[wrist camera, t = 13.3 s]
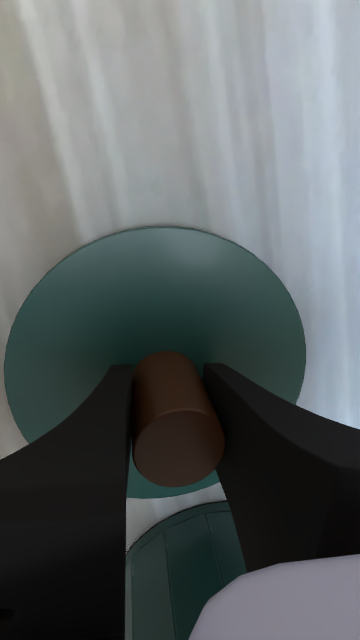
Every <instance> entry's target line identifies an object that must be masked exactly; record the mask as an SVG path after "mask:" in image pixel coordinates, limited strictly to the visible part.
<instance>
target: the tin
mask: <svg viewBox="0 0 360 640" xmlns="http://www.w3.org/2000/svg"><path fill="white" fill-rule="evenodd" d="M243 574H247V571H246V567H245V563H244V559H243V554H242V550H241V547H240V543H239V539H238V535H237V531H236V528H235V524H234V520H233V516H232V513H231V510H230V507H229V504H228V502H219V503H211V504H206V505H202V506H198V507H194V508H191V509H188V510H186V511H183V512H180V513H178V514H176V515H174V516H172V517H170V518H168V519H166V520H164V521H163V522H161V523H159V524H158V525H156V526H155V527H153V528H152V529H151V530H149V531H148V532H147V533H146V534H144V535H143V536H142V537H141V538H140V539H139V540H138V541H137V542H136V543H135V544H134V546H133V547H132V548H131V549H130V550H129V552H128V553H127V555H126V573H125V640H189V637H190V635H191V633H192V631H193V629H194V626H195V624H196V622H197V620H198V618H199V616H200V614H201V612H202V610H203V608H204V606H205V604H206V603H207V601H208V600H209V599H210V598H211V597H213V596H214V595H215V594H217V593H218V592H219V591H220V590H222V589H223V588H224V587H226V586H227V585H228V584H230V583H231V582H232V581H233V580H235V579H236V578H237V577H239V576H240V575H243Z"/></svg>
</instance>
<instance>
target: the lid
mask: <svg viewBox="0 0 360 640" xmlns="http://www.w3.org/2000/svg"><path fill="white" fill-rule="evenodd" d="M204 363H223V364H225V365H227V366H229V367H230V368H232V369H234V370H235V371H237V372H239V373H240V374H242V375H243V376H245V377H246V378H248V379H250V380H251V381H253V382H254V383H256V384H258V385H259V386H261V387H263V388H264V389H266V390H268V391H270V392H271V393H273V394H275V395H277V396H279V397H281V398H282V399H284V400H286V401H288V402H290V403H292V404H294V405H295V404H296V402H297V399H298V397H299V394H300V391H301V387H302V383H303V379H304V372H305V364H306V344H305V337H304V331H303V326H302V323H301V319H300V316H299V313H298V310H297V308H296V306H295V304H294V302H293V300H292V297H291V295H290V294H289V292H288V291H287V289H286V288H285V286H284V285H283V283H282V282H281V280H280V279H279V278H278V277H277V276H276V275H275V274H274V272H273V271H272V270H271V269H270V268H269V267H268V266H267V265H266V264H265V263H263V262H262V261H261V260H260V259H259V258H257V257H256V256H255V255H254V254H252V253H251V252H249V251H248V250H246V249H244V248H243V247H241V246H239V245H238V244H236V243H234V242H232V241H229V240H227V239H224V238H222V237H220V236H217V235H215V234H212V233H208V232H204V231H200V230H196V229H193V228H185V227H176V226H147V227H141V228H135V229H128V230H124V231H121V232H117V233H114V234H111V235H107V236H104V237H102V238H100V239H98V240H95V241H93V242H91V243H89V244H87V245H84V246H83V247H81V248H80V249H78V250H76V251H75V252H73V253H72V254H70V255H68V256H67V257H65V258H64V259H63V260H62V261H61V262H59V263H58V264H57V265H56V266H55V267H54V268H52V269H51V270H50V271H49V272H48V273H47V274H46V275H45V276H44V277H43V278H42V279H41V280H40V282H39V283H38V284H37V285H36V286H35V287H34V288H33V289H32V291H31V292H30V294H29V295H28V297H27V298H26V300H25V302H24V303H23V305H22V306H21V308H20V310H19V312H18V314H17V316H16V318H15V321H14V323H13V325H12V327H11V331H10V335H9V338H8V342H7V345H6V352H5V361H4V380H5V389H6V394H7V399H8V404H9V406H10V409H11V412H12V415H13V417H14V420H15V422H16V424H17V426H18V428H19V429H20V431H21V433H22V435H23V437H24V438H25V439H26V441H27V442H28V443H29V444H30V443H32V442H34V441H35V440H36V439H38V438H39V437H41V436H42V435H44V434H45V433H47V432H48V431H50V430H51V429H53V428H54V427H56V426H57V425H58V424H60V423H61V422H62V421H63V420H65V419H66V418H67V417H68V416H69V415H70V414H71V413H72V412H73V411H75V410H76V409H77V408H78V406H79V405H80V404H81V403H82V402H83V401H84V400H85V399H86V398H87V397H88V396H89V395H90V394H91V392H92V391H93V390H94V389H95V387H96V386H97V385H98V384H99V382H100V381H101V379H102V378H103V377H104V375H105V374H106V372H107V370H108V368H109V367H110V366H111V365H126V364H131V365H132V405H131V453H130V464H129V475H128V486H127V496H126V497H127V498H141V499H146V498H164V497H172V496H178V495H182V494H187V493H191V492H194V491H197V490H200V489H203V488H206V487H209V486H211V485H213V484H216V483H218V482H220V480H219V477H218V475H217V472H216V467H217V466H218V465H219V463H220V462H221V460H222V458H223V455H224V451H225V446H226V439H225V434H224V431H223V428H222V426H221V424H220V421H219V419H218V417H217V414H216V412H215V410H214V407H213V405H212V403H211V400H210V398H209V396H208V393H207V391H206V389H205V386H204V384H203V382H202V380H203V368H204Z"/></svg>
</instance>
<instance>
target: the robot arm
mask: <svg viewBox="0 0 360 640" xmlns="http://www.w3.org/2000/svg"><path fill="white" fill-rule="evenodd" d="M202 382H203V384H204V386H205V389H206V391H207V393H208V396H209V398H210V400H211V403H212V405H213V407H214V410H215V412H216V414H217V417H218V419H219V421H220V424H221V426H222V428H223V431H224V434H225V439H226V446H225V451H224V455H223V458H222V460H221V462H220V463H219V465H218V466H217V467H216V472H217V475H218V477H219V480H220V483H221V485H222V488H223V490H224V493H225V496H226V498H227V501H228V504H229V507H230V510H231V513H232V516H233V520H234V524H235V528H236V531H237V535H238V539H239V543H240V547H241V550H242V554H243V559H244V563H245V567H246V571H247V574H243V575H240V576H239V577H237V578H236V579H235V580H233V581H232V582H231V583H230V584H228V585H227V586H226V587H224V588H223V589H222V590H220V591H219V592H218V593H217V594H215V595H214V596H213V597H211V598H210V599H209V600H208V601H207V603H206V604H205V606H204V608H203V610H202V612H201V614H200V616H199V618H198V620H197V622H196V624H195V626H194V629H193V631H192V633H191V635H190V637H189V640H360V430H359V429H356V428H353V427H350V426H347V425H344V424H341V423H338V422H335V421H332V420H330V419H327V418H324V417H322V416H319V415H317V414H314V413H312V412H310V411H308V410H305V409H303V408H301V407H298V406H296V405H294V404H292V403H290V402H288V401H286V400H284V399H282V398H281V397H279V396H277V395H275V394H273V393H271V392H270V391H268V390H266V389H264V388H263V387H261V386H259V385H258V384H256V383H254V382H253V381H251V380H250V379H248V378H246V377H245V376H243V375H242V374H240V373H239V372H237V371H235V370H234V369H232V368H230V367H229V366H227V365H225V364H223V363H204V368H203V380H202ZM131 405H132V365H131V364H126V365H111V366H110V367H109V368H108V370H107V372H106V374H105V375H104V377H103V378H102V379H101V381H100V382H99V384H98V385H97V386H96V387H95V389H94V390H93V391H92V392H91V394H90V395H89V396H88V397H87V398H86V399H85V400H84V401H83V402H82V403H81V404H80V405H79V406H78V408H77V409H76V410H75V411H73V412H72V413H71V414H70V415H69V416H68V417H67V418H66V419H65V420H63V421H62V422H61V423H60V424H58V425H57V426H56V427H54V428H53V429H51V430H50V431H48V432H47V433H45V434H44V435H42V436H41V437H39V438H38V439H36V440H35V441H34V442H32V443H30V444H29V445H27V446H25V447H23V448H22V449H20V450H18V451H16V452H14V453H13V454H11V455H9V456H7V457H5V458H3V459H1V460H0V640H125V573H126V496H127V486H128V475H129V464H130V453H131Z"/></svg>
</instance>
